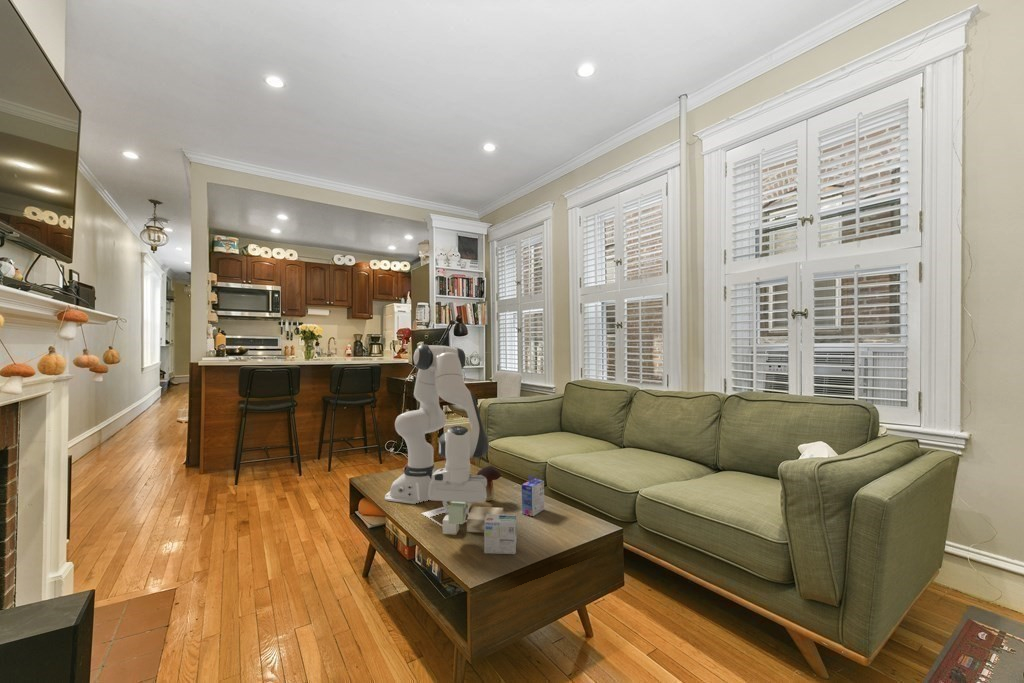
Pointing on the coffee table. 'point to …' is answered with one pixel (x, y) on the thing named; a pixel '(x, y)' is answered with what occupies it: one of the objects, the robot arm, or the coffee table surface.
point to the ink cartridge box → (532, 496)
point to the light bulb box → (500, 533)
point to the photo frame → (436, 512)
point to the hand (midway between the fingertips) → (457, 513)
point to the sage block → (457, 512)
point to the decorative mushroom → (489, 480)
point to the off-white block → (449, 526)
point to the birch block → (480, 517)
